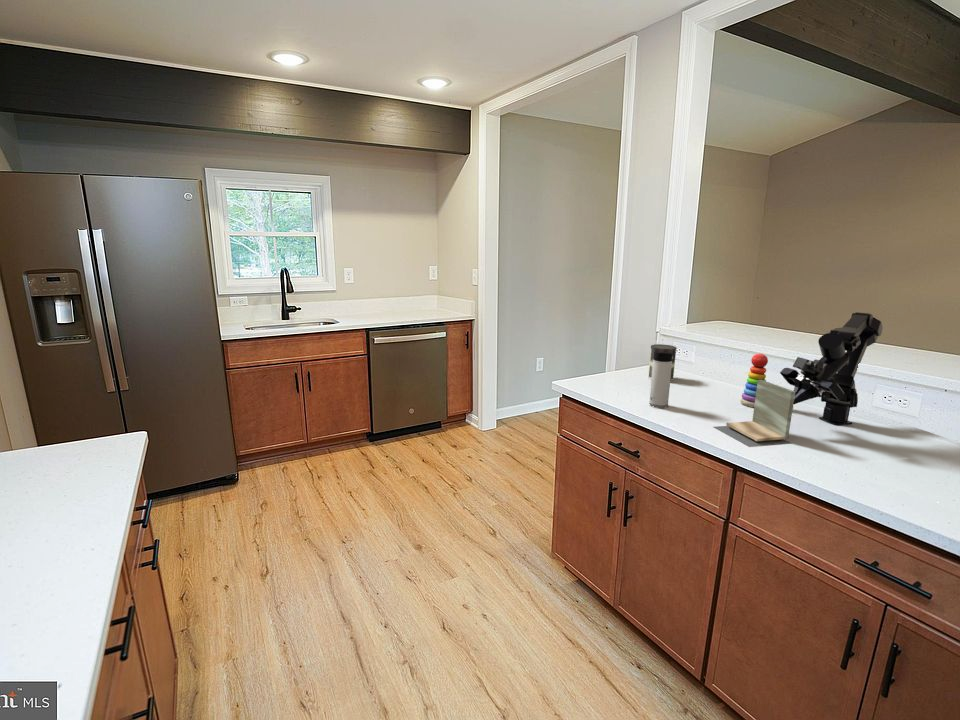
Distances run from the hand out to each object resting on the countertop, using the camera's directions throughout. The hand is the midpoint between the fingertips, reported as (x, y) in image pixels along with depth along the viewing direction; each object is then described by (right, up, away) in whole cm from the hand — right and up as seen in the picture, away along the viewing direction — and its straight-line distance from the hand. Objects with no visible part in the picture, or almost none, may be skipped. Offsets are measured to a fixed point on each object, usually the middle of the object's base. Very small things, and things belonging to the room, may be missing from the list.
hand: (790, 403), depth 146 cm
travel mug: (-30, -3, +27) cm, 40 cm away
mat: (-12, -10, 0) cm, 15 cm away
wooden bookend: (-11, -9, 0) cm, 14 cm away
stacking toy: (+5, -3, +29) cm, 29 cm away
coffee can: (-15, +5, +64) cm, 66 cm away
